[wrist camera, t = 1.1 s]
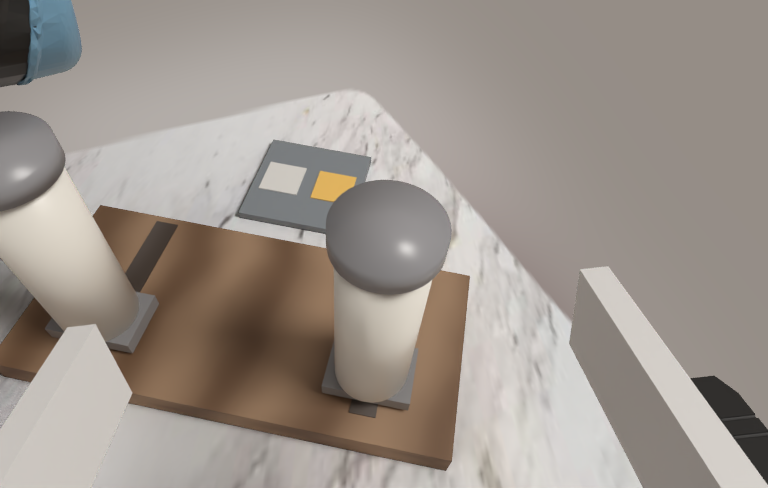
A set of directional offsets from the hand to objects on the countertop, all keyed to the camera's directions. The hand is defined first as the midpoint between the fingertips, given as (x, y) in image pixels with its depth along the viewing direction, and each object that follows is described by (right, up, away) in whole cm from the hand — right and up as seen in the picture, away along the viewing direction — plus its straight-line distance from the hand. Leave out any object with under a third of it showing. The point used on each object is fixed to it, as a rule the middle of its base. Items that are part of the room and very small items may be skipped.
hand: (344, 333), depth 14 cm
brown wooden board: (-8, -3, +21) cm, 23 cm away
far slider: (-16, -2, +18) cm, 25 cm away
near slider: (0, -5, +17) cm, 18 cm away
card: (-5, +7, +30) cm, 31 cm away
